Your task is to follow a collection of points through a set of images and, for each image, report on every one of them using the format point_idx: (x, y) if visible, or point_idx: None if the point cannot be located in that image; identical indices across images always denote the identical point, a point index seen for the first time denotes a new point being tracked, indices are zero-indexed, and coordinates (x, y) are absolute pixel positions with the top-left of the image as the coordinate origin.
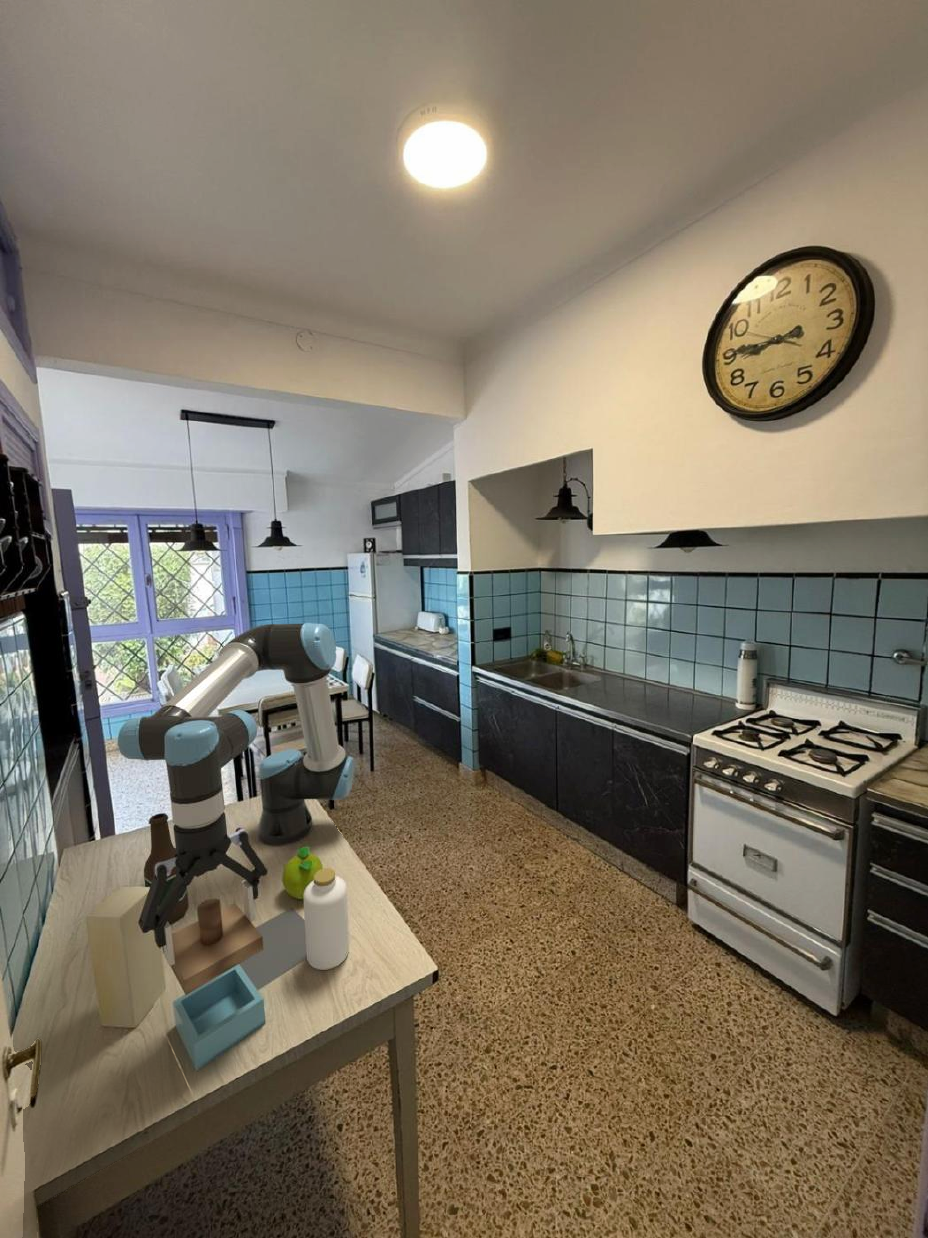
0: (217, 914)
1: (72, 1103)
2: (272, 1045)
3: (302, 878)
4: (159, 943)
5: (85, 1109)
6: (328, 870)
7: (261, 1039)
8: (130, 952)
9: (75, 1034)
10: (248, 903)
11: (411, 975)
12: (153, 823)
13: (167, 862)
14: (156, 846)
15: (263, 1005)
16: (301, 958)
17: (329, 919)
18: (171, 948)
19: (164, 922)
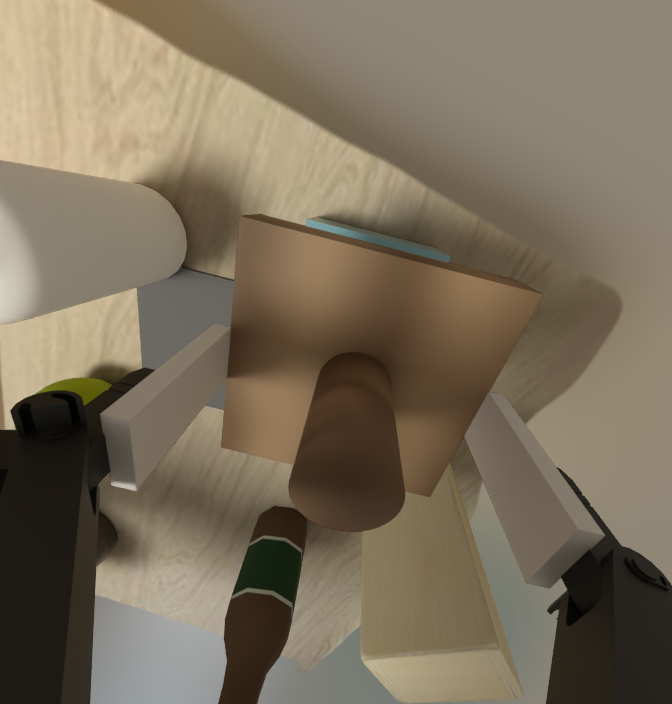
0: (336, 419)
1: (538, 371)
2: (337, 161)
3: None
4: (571, 485)
5: (539, 348)
6: None
7: (340, 196)
8: (445, 517)
9: (464, 458)
10: (190, 372)
11: None
12: None
13: None
14: (253, 694)
15: (310, 218)
16: (191, 278)
17: (38, 174)
18: (520, 435)
19: (630, 581)
